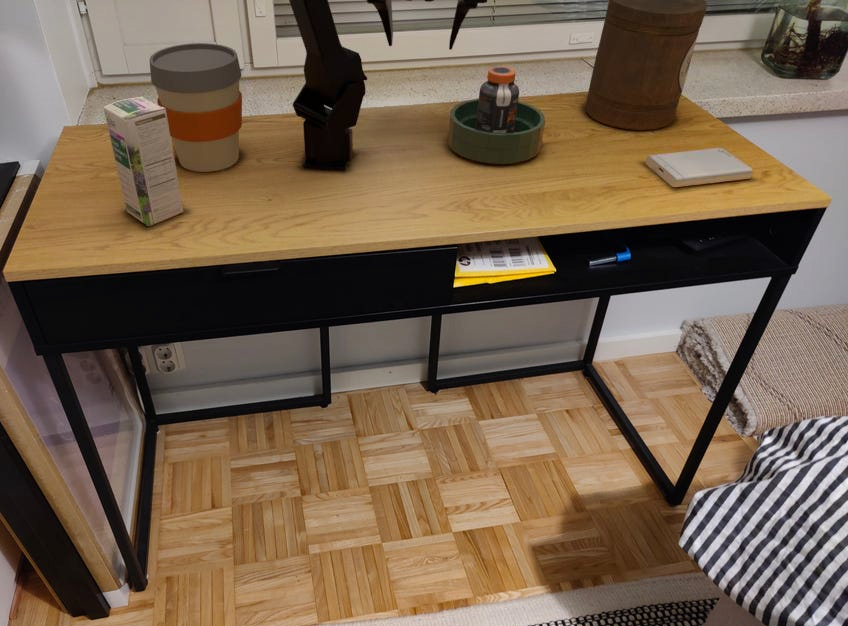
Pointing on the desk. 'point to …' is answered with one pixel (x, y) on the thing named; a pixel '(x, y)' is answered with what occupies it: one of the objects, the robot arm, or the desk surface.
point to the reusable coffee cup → (200, 102)
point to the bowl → (495, 135)
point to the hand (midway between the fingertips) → (420, 47)
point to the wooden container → (643, 61)
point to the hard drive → (698, 167)
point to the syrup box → (144, 159)
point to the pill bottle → (498, 101)
